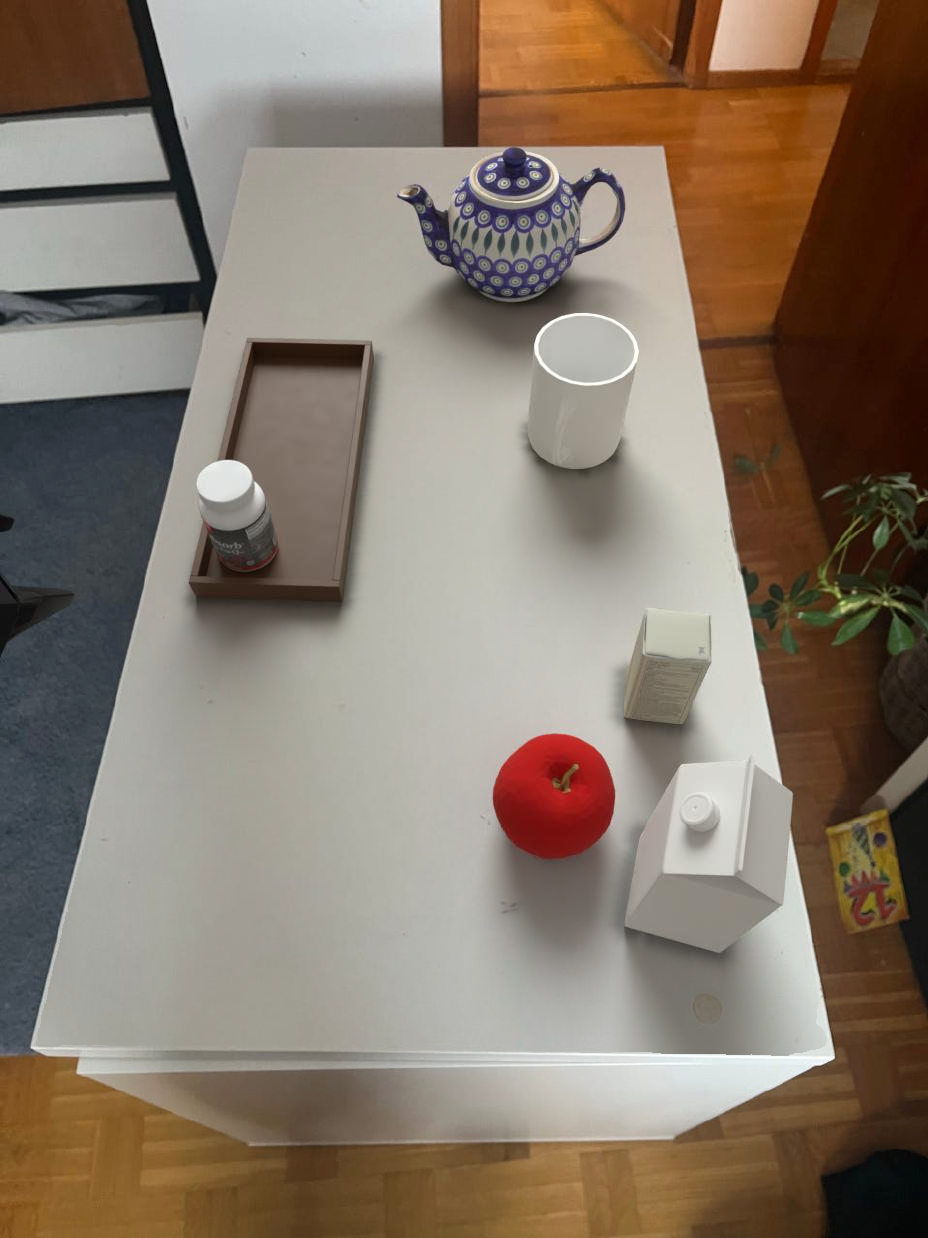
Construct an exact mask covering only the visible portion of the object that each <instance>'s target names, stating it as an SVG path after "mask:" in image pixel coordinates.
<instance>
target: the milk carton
mask: <svg viewBox="0 0 928 1238" xmlns="http://www.w3.org/2000/svg"><path fill="white" fill-rule="evenodd" d="M756 756H757V755H756V754H755V753H752V754H751V755H750V756H749V758H748V759H745V760H744V759H743V760H727V761H713V762H712V761H711V762H693V763H681V764H680V765H679V767H678V768H677V769H676V771H675V773H674V775H673V777H672V778H671V780H670V781H669V784H668V786H667V787H666V789H665V791H664V793H663V794H662V796H661V798H660V800H659V802H658V804H657V806H656V807H655V809H654V811H653V813H652V815H651V816H650V818H649V819H648V821H647V824H646V825H645V827H644V828H643V831H641V834H640V836H639V840H638V845H637V849H636V856H635V861H634V867H633V872H632V878H631V884H630V890H629V895H628V900H627V905H626V906H627V907H626V912H625V918H624V927H626V928H629V929H632V930H636V931H639V932H643V933H645V934H646V933H647V934H650V935H653V936H657V937H661V938H664V939H668V940H670V941H671V940H672V941H674V942H679V943H681V944H685V945H689V946H693V947H696V948H700V949H704V950H707V951H711V952H714V953H718V954H720V953H722V952H723V951H725V950H727V948H729V947H730V946H731V945H732V944H734V943H735V942H737V940H739V939H740V938H742V937H743V936H744V935H745V934H747V933H748V932H750V931H751V930H752V929H753V928H755V927H756V926H757V925H758V924H760V923H761V922H762V921H763V920H765V919H766V918H768V917H769V916H770V915H771V914H773V913H774V912H776V911H777V910H778V909H779V908H781V907H782V906H784V901H785V889H786V878H787V867H788V856H789V847H790V844H789V843H790V832H791V823H792V811H793V801H794V794H793V792H792V790H790V789H789V788H788V787H786V786H785V785H783V784H782V783H781V782H780V781H778V780H777V779H776V778H774V777H773V776H771V775H770V774H769V773H767V772H766V771H765V770H764V769H762V768H761V767H759V766H758V765H757V764H756Z"/></svg>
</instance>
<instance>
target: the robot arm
mask: <svg viewBox="0 0 928 1238" xmlns="http://www.w3.org/2000/svg"><path fill="white" fill-rule="evenodd" d="M14 523H15V518H14V517H13V516H12V515H10V514H8V513H7V514H6V513H4V512H1V511H0V533H5V532H9V531H11V530H12V528H13V525H14ZM75 597H76V594H75V593H74V591H72V590H69V589H62V588H56V587H55V588H52V587H39V586H26V585H25V586H24V585H13V584H11V583H10V582H9V580H8V579H7V578H6V577H5V575H4V574H3V572H1V571H0V658H1V657H2V654H3V652H4V651H5V648H6V645H7V644H8V643H9V642H10V641H12V640H13V639H14V638H16V637H17V636H19V635H21V634H22V633H23V632H25V631H27V630H29V629H30V628H32V627H34V626H36V625H37V624H39V623H42V622H43V621H45V620H46V619H48V618H50V617H52V616H54V615H55V614H57V613H60V612H61V611H63V610H65V609H66V608H68V607H69V606H71V604H73V601H74V599H75Z"/></svg>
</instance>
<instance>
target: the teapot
mask: <svg viewBox="0 0 928 1238" xmlns="http://www.w3.org/2000/svg"><path fill="white" fill-rule="evenodd" d="M598 183H605V184H607V186H608V187H610V189H611V190H612V192H613V194H614V196H615V198H616V206H615V212H614V214H613V218H612V220H611V221H610V222H609V223H608V225H607V226H605V227H604V228H603V229H601V231H599V232H597V233H596V234H595V235H592V236H589V237H587V238H581V236H580V235H581V220H582V219H581V207H582V205H583V203H584V201H585V198H586V196H587V194H588V192H589V190H590V189H591V188H592V187H593V186H594V185H595V184H598ZM623 189H624V188H623V187H622V185H621V183H620V182H619V179H618V178H617V177H616V176H615V175H614V174H613V173H612V172H611V171H610V170H608V169H607V168H605V167H601V166H600V167H596V168H594V169H592V170H590V171H589V172H587V173H586V174H584V175H583V176H582V177H581V178H579V180H577V181H576V182H574V183H570V182H569V181H568V180H567V178H566V177H565V176H564V175H562V173H561V172H559V170H558V169H557V166H556V165H555V164H554V163H553V162H552V161H551V160H549V159H548V158H547V157H545V156H543V155H540V154H538V153H534V152H531V151H526V150H524V149H523V148H520V147H516V146H512V147H508V148H506V149H505V150H504V151H498V152H494V153H492V154H489V155H486V156H485V157H482V158H481V159H480V160H479V161H477V162H476V163H475V164H474V166H473V167H472V168H471V170H470V172H469V173H468V174H467V175H466V176H465V177H464V178H463V179H462V180H461V181H460V182H459V183H458V185H457V186H456V188H455V190H454V191H453V193H452V195H451V198H450V201H449V203H448V207H447V208H446V209H444V210H443V211H441V210H439V209H437V208H436V206H435V204H434V200H433V199H432V197H431V196H430V195H429V193H428V192H427V190H426V189H425V188H424V187H423V186H422V185H420V184H417V183H414V184H410V185H406V186H405V187H403V188H402V189H400V190H399V191H398V193H397V195H396V197H397V199H400V200H402V201H404V202H405V203H408V204H409V205H411V206H412V207H413V208H414V210H415V212H416V214H417V219H418V222H419V226H420V230H421V234H422V238H423V242H424V244H425V247H426V249H427V251H428V253H429V254H430V256H431V257H432V258H433V260H435V261H436V262H437V263H439V264H440V265H441V266H445V267H449V268H453V269H454V270H455V271H456V272H457V274H458V275H459V276H460V278H462V279H463V280H464V281H465V282H466V283H467V284H468V285H469V286H471V287H472V288H473V289H475V290H476V291H478V292H479V293H481V294H482V295H483V296H485V297H487V298H490V299H492V300H496V301H499V302H505V303H519V302H524V301H530V300H532V299H534V298H536V297H538V296H540V295H542V294H543V293H544V292H545V291H547V290H548V289H549V288H551V287H552V286H554V285H555V284H557V283H558V282H559V281H560V280H561V279H563V277H564V276H565V274H566V273H567V271H568V270H569V269H570V267H571V266H572V264H573V261H574V259H575V257H576V256H580V255H582V254H585V253H588V252H590V251H593V250H596V249H598V248H600V247H602V246H603V245H605V244H606V243H608V242H609V241H610V240H611V239H612V238H613V237H614V236H615V235H616V234H617V233H618V231H619V230H620V228H621V226H622V223H623V221H624V218H625V213H626V196H625V193H624V190H623Z"/></svg>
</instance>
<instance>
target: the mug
mask: <svg viewBox="0 0 928 1238" xmlns="http://www.w3.org/2000/svg"><path fill="white" fill-rule="evenodd" d="M638 345H639V344H638V342H637V340H636V338H635V336H634V334H633V333H632V332H631V331H630V330H629V329H628V328H627V327H626V326H625V325H623V324H622V323H621V322H618V321H617V320H615V319H614V318H610V317H607V316H605V315H602V314H597V313H590V312H580V313H579V312H577V313H570V314H565V315H561V316H559V317H557V318H554V319H553V320H550V321H548V323H547V324H545V325H543V326H542V328H541V329H540V330H539V332H538V333H537V335H536V337H535V341H534V344H533V355H532V367H531V379H530V390H529V391H530V392H529V402H528V403H529V405H528V416H527V434H528V441H529V443H530V446H531V447H532V449H533V450H534V451H535V453H536V454H537V455H538V456H539V458H541V459H543V460H544V461H546V462H547V463H548V464H552V465H554V466H556V467H559V468H564V469H570V470H585V469H589V468H593V467H596V466H599V465H600V464H602V463H604V462H606V461H607V460H608V459H610V458H611V457H612V456H613V455H614V453H615V452H616V450H617V448H618V446H619V445H620V441H621V437H622V434H623V433H622V432H623V428H624V424H625V419H626V415H627V410H628V405H629V401H630V395H631V390H632V386H633V382H634V381H633V380H634V375H635V373H636V368H637V363H638V359H639V358H638V357H639V352H640V351H639V346H638Z"/></svg>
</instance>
